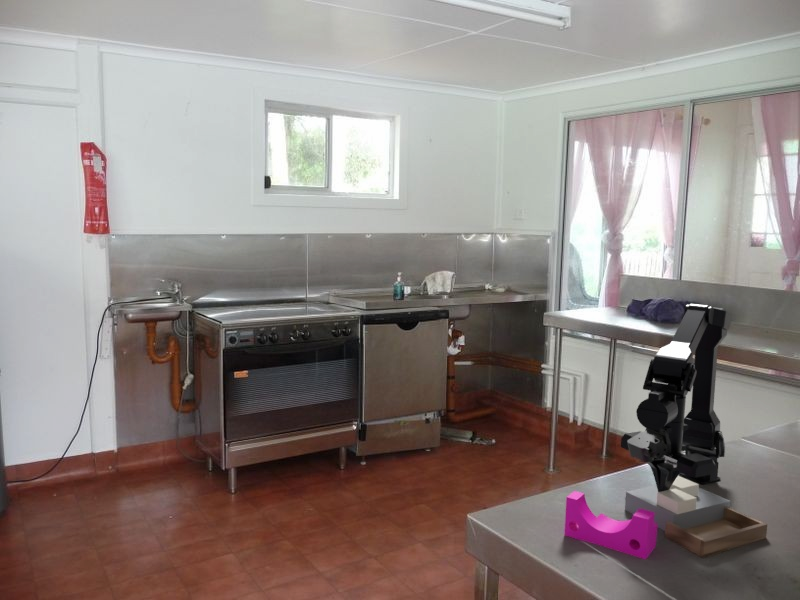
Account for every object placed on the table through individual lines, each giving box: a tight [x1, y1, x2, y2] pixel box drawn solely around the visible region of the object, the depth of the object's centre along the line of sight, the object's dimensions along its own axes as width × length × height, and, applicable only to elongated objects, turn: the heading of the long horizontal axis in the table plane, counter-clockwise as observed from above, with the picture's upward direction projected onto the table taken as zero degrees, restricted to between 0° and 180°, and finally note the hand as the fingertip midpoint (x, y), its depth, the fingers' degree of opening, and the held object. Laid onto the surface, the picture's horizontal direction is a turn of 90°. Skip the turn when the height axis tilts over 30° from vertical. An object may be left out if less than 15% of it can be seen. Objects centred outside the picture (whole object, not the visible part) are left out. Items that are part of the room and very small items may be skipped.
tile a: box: [657, 488, 697, 514], centre depth 131 cm, size 5×5×2 cm
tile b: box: [669, 475, 700, 497], centre depth 138 cm, size 5×5×2 cm
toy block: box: [563, 490, 658, 560], centre depth 125 cm, size 15×6×8 cm, turn 53°
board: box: [624, 484, 732, 532], centre depth 137 cm, size 12×16×4 cm
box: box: [664, 507, 768, 559], centre depth 127 cm, size 9×17×3 cm, turn 117°
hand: (662, 494), depth 134 cm, fingers closed
